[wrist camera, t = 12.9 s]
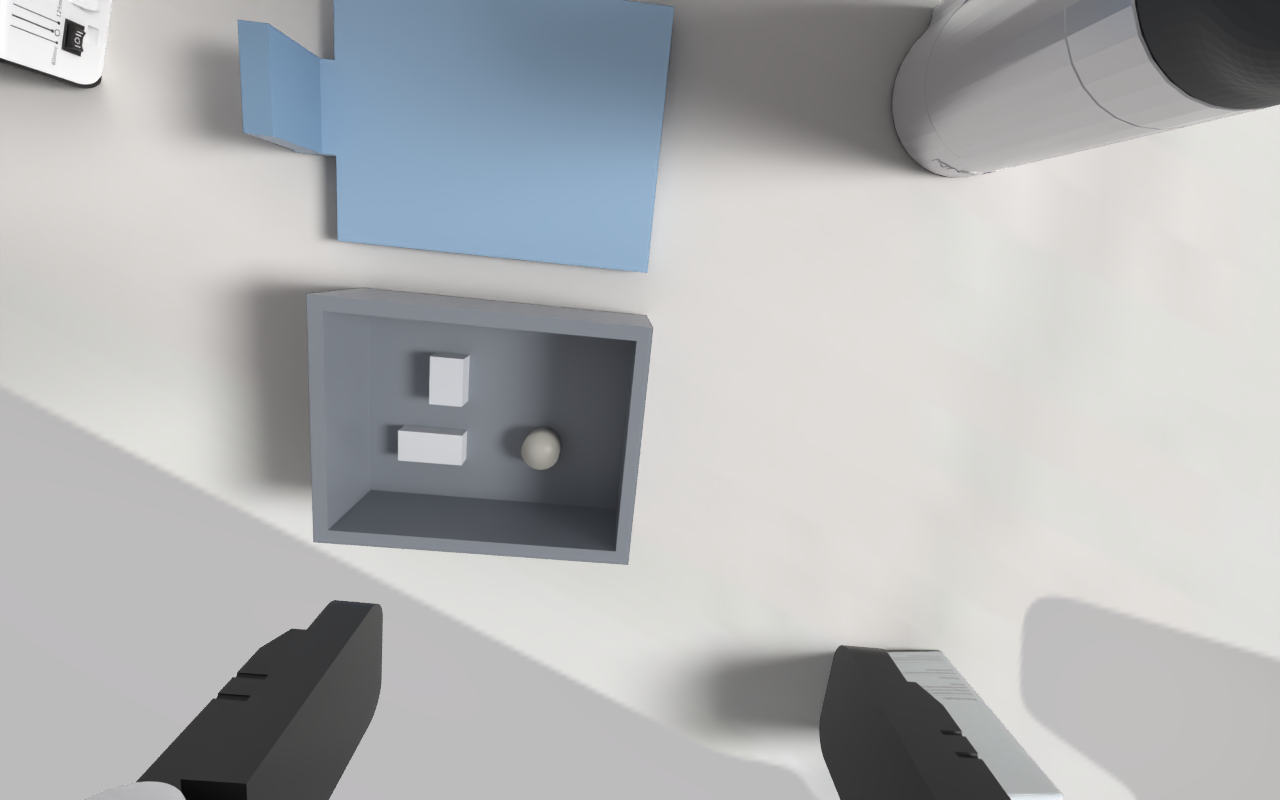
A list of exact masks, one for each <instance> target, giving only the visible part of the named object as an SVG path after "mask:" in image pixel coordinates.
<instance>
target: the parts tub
mask: <svg viewBox="0 0 1280 800" xmlns="http://www.w3.org/2000/svg"><path fill="white" fill-rule="evenodd" d="M306 299H307V334H308V369H309V405H310V440H311V475H312V510H313V542H318V543H332V544H346V545H360V546H373V547H387V548H401V549H415V550H429V551H443V552H457V553H471V554H485V555H498V556H512V557H526V558H540V559H554V560H568V561H582V562H596V563H610V564H623V565H628V561H629V551H630V542H631V532H632V523H633V514H634V504H635V495H636V485H637V476H638V466H639V457H640V448H641V438H642V429H643V419H644V410H645V400H646V391H647V382H648V372H649V363H650V353H651V344H652V334H653V326H652V324H651V323H650V321H649V319H648V317H647V315H637V314H627V313H617V312H606V311H596V310H586V309H576V308H566V307H556V306H545V305H535V304H525V303H515V302H505V301H495V300H484V299H474V298H464V297H454V296H444V295H434V294H423V293H413V292H403V291H393V290H383V289H373V288H355V289H346V290H337V291H328V292H320V293H311V294H306Z"/></svg>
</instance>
